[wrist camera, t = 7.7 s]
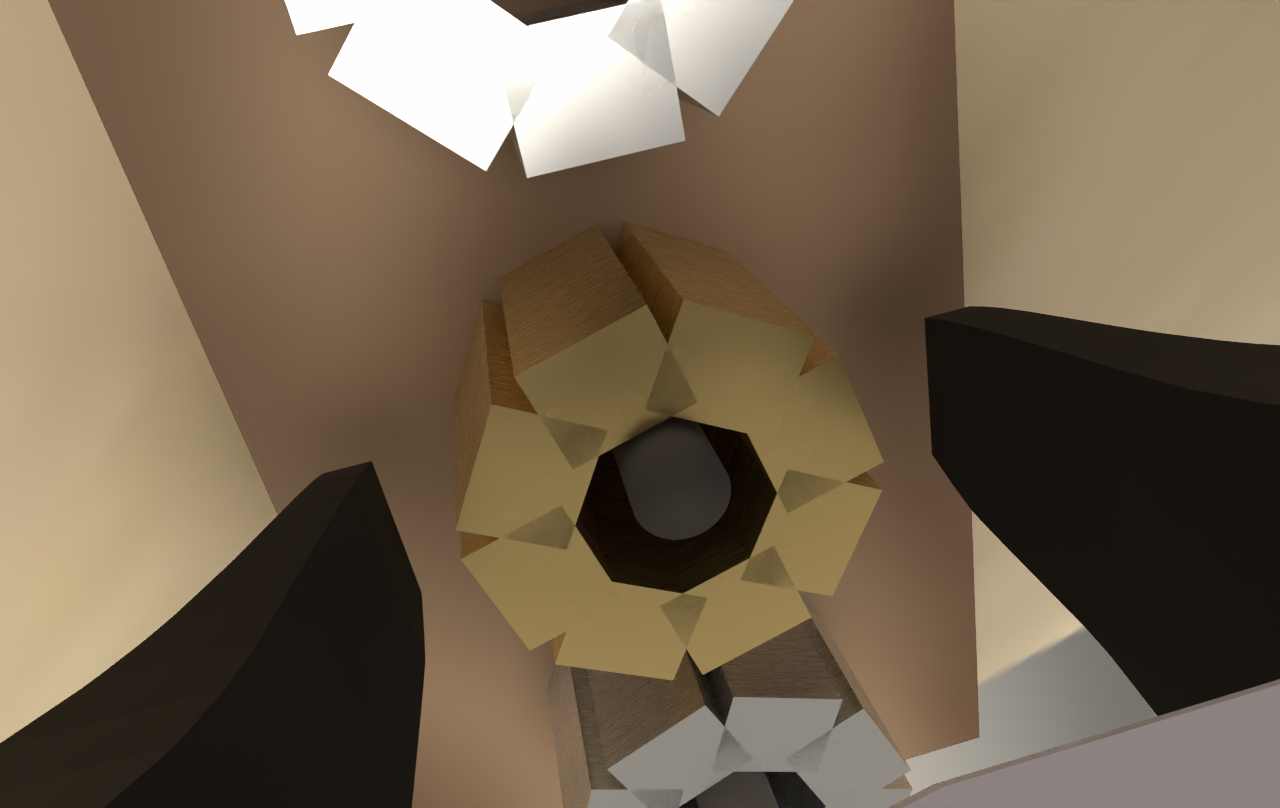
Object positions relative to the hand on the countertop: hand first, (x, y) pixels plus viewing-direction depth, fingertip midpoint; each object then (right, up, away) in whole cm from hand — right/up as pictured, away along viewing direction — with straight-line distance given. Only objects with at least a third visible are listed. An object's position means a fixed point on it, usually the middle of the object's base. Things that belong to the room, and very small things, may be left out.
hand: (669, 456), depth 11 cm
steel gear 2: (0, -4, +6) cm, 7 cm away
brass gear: (-1, +1, +3) cm, 4 cm away
